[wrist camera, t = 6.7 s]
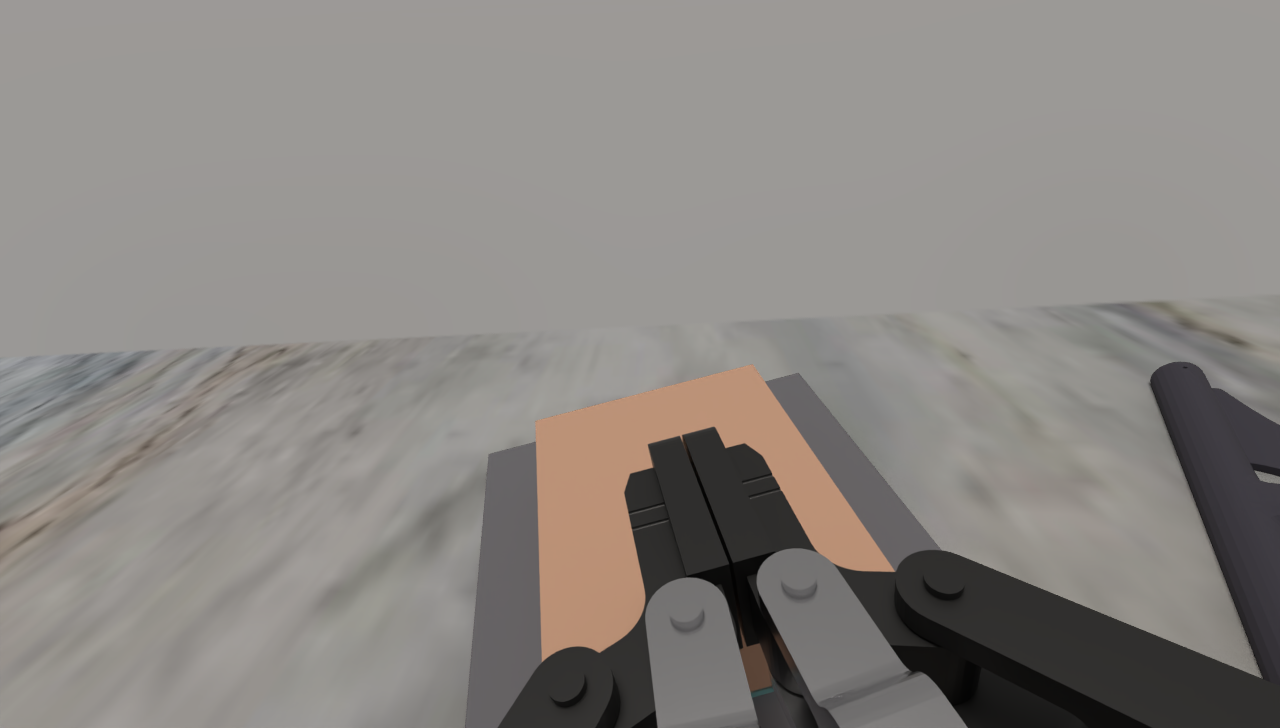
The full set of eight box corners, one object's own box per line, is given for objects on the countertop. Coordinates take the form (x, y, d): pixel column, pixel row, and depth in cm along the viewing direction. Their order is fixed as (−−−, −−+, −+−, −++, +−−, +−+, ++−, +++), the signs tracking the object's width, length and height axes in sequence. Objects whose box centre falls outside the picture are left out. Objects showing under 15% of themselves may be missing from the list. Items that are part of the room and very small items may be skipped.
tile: (542, 685, 14) (535, 420, 23) (574, 749, 15) (555, 476, 25) (902, 582, 14) (752, 364, 24) (898, 655, 16) (759, 422, 25)
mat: (445, 1097, 11) (433, 1091, 11) (492, 463, 27) (488, 454, 27) (1177, 866, 12) (1185, 853, 12) (799, 383, 28) (798, 372, 28)
